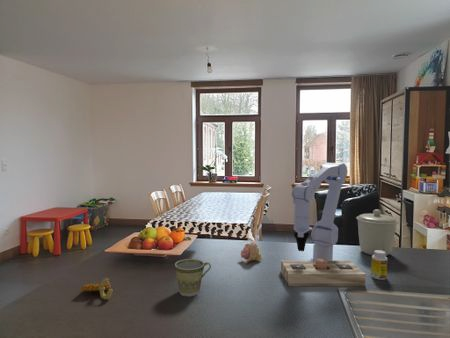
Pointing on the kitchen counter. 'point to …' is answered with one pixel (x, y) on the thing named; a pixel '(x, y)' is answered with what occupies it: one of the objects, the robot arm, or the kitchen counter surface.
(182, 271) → the ceramic cup
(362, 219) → the canister
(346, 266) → the knob
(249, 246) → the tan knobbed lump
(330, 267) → the mount
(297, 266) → the knob
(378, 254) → the supplement bottle
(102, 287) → the ornament
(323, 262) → the knob middle
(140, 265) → the kitchen counter surface
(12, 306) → the kitchen counter surface
